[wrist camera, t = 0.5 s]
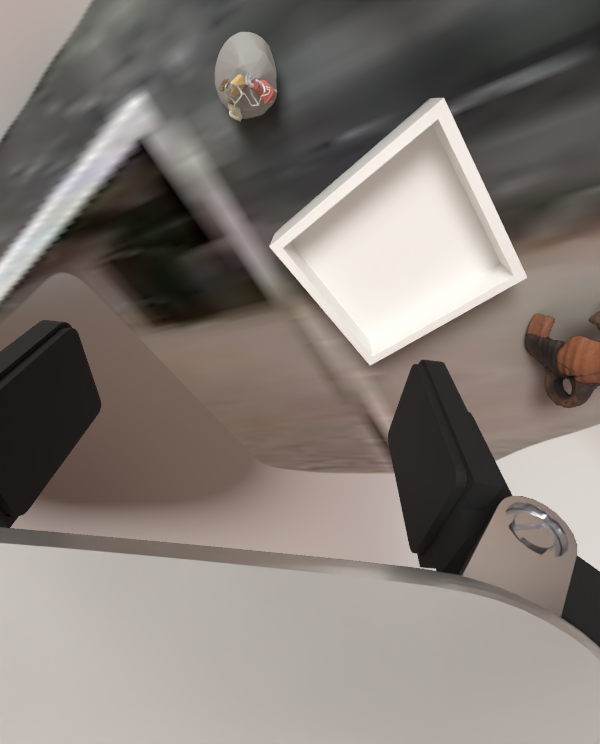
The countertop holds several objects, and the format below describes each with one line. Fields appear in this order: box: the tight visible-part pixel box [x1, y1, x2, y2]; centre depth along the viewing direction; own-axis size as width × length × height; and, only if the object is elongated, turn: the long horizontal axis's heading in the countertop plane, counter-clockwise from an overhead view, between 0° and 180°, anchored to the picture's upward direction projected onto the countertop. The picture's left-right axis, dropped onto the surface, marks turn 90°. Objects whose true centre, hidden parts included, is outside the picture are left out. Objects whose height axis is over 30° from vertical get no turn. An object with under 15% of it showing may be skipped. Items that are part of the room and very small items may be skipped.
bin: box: [269, 98, 527, 365], centre depth 31 cm, size 16×16×4 cm
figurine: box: [215, 32, 277, 122], centre depth 24 cm, size 5×4×6 cm
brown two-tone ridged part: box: [525, 312, 600, 408], centre depth 36 cm, size 12×10×8 cm
